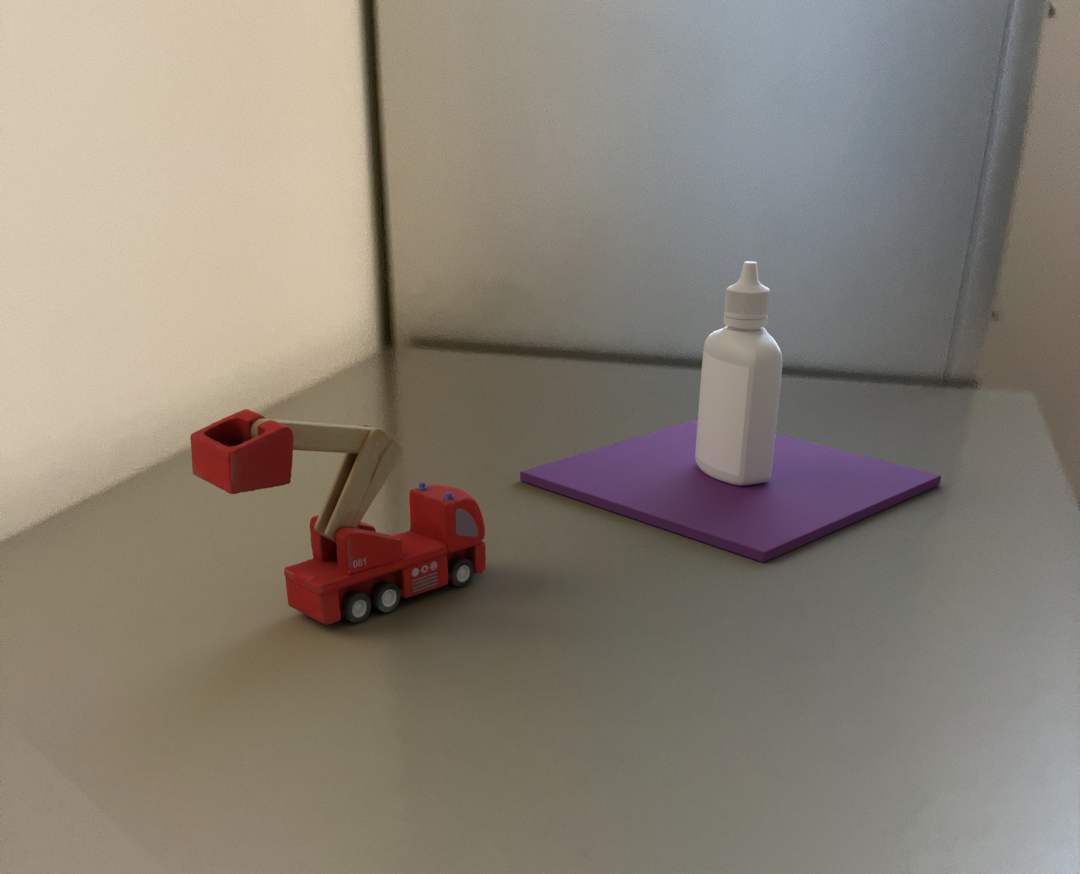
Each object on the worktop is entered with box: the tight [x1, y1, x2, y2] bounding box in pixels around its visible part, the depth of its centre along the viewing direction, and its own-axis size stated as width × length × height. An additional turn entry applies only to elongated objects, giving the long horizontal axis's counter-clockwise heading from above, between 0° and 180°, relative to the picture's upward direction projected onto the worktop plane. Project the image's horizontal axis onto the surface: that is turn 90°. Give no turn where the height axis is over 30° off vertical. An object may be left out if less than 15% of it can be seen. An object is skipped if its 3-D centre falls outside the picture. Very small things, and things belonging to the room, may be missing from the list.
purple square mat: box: [519, 417, 942, 563], centre depth 72 cm, size 18×18×1 cm
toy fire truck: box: [189, 408, 487, 626], centre depth 54 cm, size 3×14×10 cm, turn 133°
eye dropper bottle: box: [695, 260, 783, 486], centre depth 69 cm, size 4×6×12 cm
